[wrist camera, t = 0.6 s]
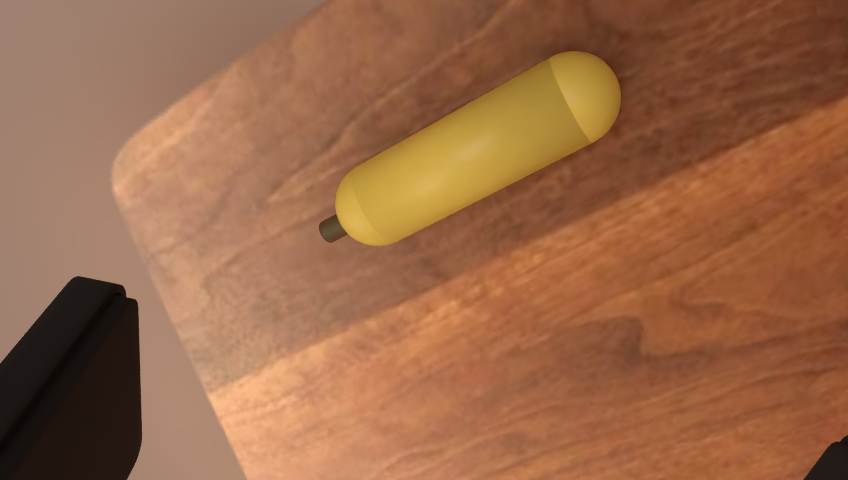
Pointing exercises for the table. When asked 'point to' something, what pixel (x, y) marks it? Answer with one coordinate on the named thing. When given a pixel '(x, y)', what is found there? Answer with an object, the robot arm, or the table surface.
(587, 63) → the yellow gas cartridge
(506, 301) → the table surface
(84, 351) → the robot arm
